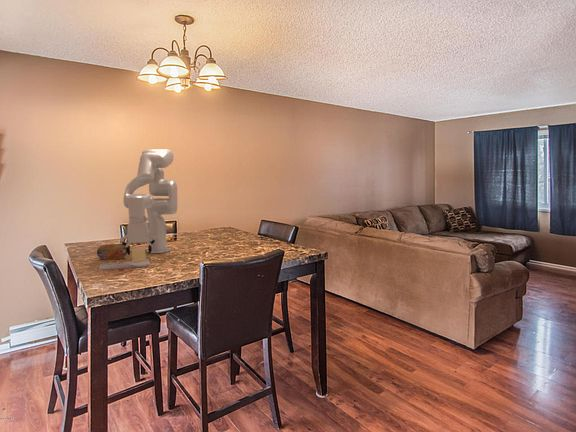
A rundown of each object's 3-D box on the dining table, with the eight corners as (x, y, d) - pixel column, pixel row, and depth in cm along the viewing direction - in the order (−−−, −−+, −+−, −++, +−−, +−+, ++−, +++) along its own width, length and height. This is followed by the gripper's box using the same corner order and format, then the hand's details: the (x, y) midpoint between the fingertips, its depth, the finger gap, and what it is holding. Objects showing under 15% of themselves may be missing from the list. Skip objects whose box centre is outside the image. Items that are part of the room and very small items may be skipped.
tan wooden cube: (133, 259, 185) (133, 248, 184) (146, 259, 186) (145, 247, 186) (132, 262, 179) (131, 250, 178) (145, 261, 181) (144, 250, 180)
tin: (97, 260, 194) (96, 245, 193) (99, 259, 197) (98, 243, 196) (127, 259, 197) (126, 243, 196) (128, 257, 200) (127, 242, 199)
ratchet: (102, 266, 182) (101, 254, 181) (149, 262, 189) (149, 251, 188) (98, 271, 173) (97, 258, 172) (148, 267, 180) (148, 255, 179)
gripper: (156, 218, 186) (157, 250, 189) (119, 220, 181) (121, 253, 184) (155, 220, 179) (157, 254, 182) (117, 222, 174) (119, 256, 176)
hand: (139, 253), depth 183 cm, fingers open, 9 cm apart
